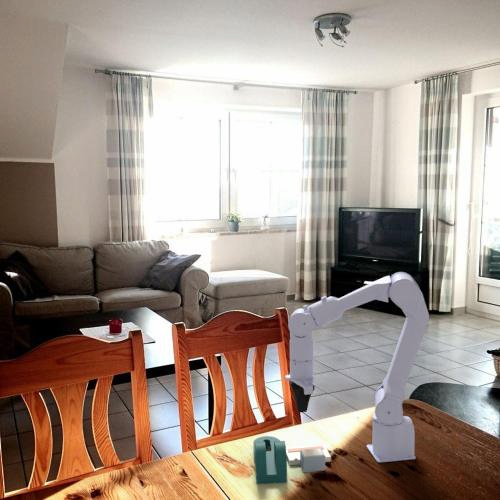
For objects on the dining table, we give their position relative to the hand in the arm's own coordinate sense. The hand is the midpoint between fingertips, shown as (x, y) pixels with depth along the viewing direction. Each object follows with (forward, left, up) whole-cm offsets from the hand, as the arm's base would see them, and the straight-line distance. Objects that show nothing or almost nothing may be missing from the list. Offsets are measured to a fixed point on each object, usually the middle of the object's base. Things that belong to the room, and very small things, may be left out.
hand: (301, 411), depth 135 cm
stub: (0, +10, -9) cm, 14 cm away
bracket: (+9, +6, -10) cm, 15 cm away
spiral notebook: (0, +5, -9) cm, 11 cm away
